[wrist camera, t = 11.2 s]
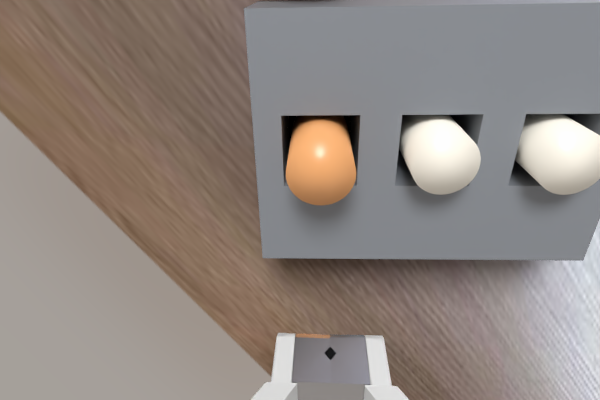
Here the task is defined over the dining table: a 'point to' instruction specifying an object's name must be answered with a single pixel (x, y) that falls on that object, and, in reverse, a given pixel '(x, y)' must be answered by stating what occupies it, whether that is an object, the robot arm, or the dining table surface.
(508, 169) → the panel
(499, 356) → the dining table surface
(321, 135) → the orange plug
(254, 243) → the dining table surface
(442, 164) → the ivory plug
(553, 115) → the ivory plug
